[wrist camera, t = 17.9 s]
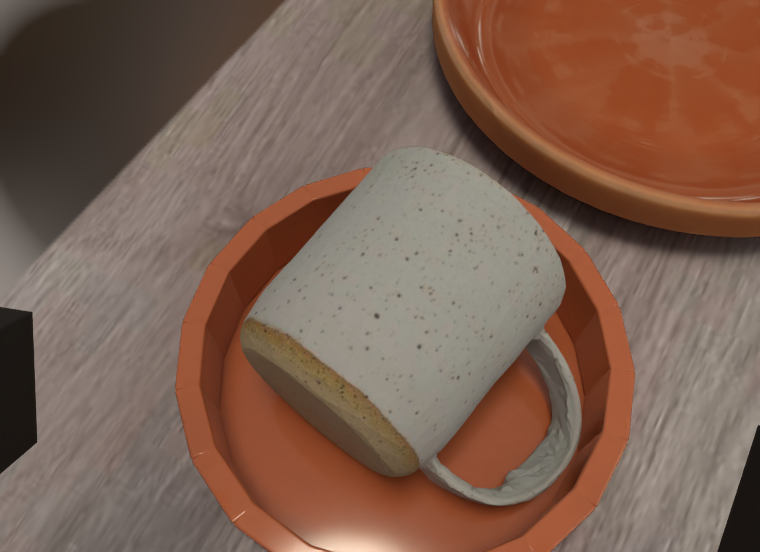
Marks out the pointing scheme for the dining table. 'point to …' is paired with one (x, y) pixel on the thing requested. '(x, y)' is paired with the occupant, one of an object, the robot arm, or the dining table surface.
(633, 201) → the saucer
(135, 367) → the dining table surface
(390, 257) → the ceramic mug
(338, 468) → the holder
